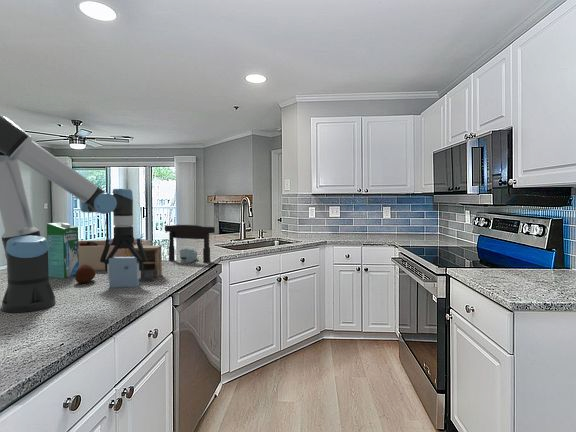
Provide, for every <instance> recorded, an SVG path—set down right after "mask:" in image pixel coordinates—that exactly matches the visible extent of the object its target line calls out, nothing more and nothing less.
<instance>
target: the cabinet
mask: <svg viewBox="0 0 576 432" xmlns="http://www.w3.org/2000/svg"><path fill="white" fill-rule="evenodd" d="M134 248H135V250H136V251H137V252H138V254H139V255H140V257H141V258H142V256H141V254H140V251H139V249H138V246H134ZM143 248H144V251H145V254H146V256H147V259H148V260H147V261H145V262H143V270H142V271H141V278H140V279H139V282H155V281H156V279H159V278H160V277H161V276H162V275H163V271H162V269H163V268H162V266H163V264H162V261H163V260H162V253H163V252H162V245H149V246H143ZM130 257H135V256H134V255H133V254H132V252H131V251H130Z"/></svg>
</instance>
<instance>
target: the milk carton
mask: <svg viewBox="0 0 576 432" xmlns="http://www.w3.org/2000/svg"><path fill="white" fill-rule="evenodd" d="M46 239H47V241H48V245H49V249H48V266H49V278H51V277H53V279H57V278H58V279H67V277H68V278H70V277H75V273H76V271H77V270H78V268H79V253H78V241H79V227H78V226H75V225H72V223H68V222H63V221H61V222H60V221H59V222H49V223H46Z"/></svg>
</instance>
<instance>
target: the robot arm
mask: <svg viewBox="0 0 576 432" xmlns="http://www.w3.org/2000/svg"><path fill="white" fill-rule="evenodd" d="M19 162H21V163H23V164H25V165H26V166H27V167H29V168H31V169H32V170H34V171H35V172H37V173H38V174H40V175H41V176H43V177H44V178H46V179H47V180H49V181H50V182H52V183H53V184H55V185H56V186H58V187H60V188H61V189H63V190H64V191H65V192H67V193H69V194H71V196H74V197H75V198H76V199H78V200H79V208H80V211H81V212H82V213H89V214H91V213H97V214H98V213H99V214H102V215H105V214H110V213H112V214H113V215H112V217H113V221H112V222H113V226H114V227H113V238H107V239H105V242H106V245H105V248H104V250H103V253H102V256H101V259H100V262H103V263H105V270H104V271H105V272H107V280H109V258H112V257H113V256H114V254H115V253H116V251H117V250H118V249H122V248H124V249H127V248H128V249H129V250H130V251H131V252H132V254H133V255H134V256H135V258H137V261H138V262H139V263H137V279H140V278H141V271H142V270H143V262H145V261H147V260H148V259H147V256H146V254H145V251H144V248H143V246H142V240H143V239H142V238H141V237H138V238H134V226H133V225H134V214H133V213H134V209H133V207H134V198H133V190H132V189H130V188H113V189H112V192H111V193H110V192H106V191H105V190H104V189H102V188H100V187H98V185H96V184H95V183H93V182H92V181H91V180H89V179H88V178H86V177H85V176H84V175H82V174H81V173H79V172H78V171H76V170H75V169H74V168H72V167H70V166H69V165H68V164H67V163H65V162H64V161H62V160H60V159H59V158H58V157H56V156H55V155H53V154H52V153H51V152H49V151H47V150H46V149H45V148H43V147H42V146H41V145H39V144H37V143H36V142H35V141H33V139H32V136H31V135H30V134H29V133H28V132H26V131H25V130H23V129H22V128H21V127H19V125H17V124H16V123H15V122H13V121H12V120H11V119H9V118H8V117H6V116H3V115H1V114H0V215H1V220H2V224H3V228H4V232H3V233H2V235H1V241H2V244H3V249H4V256H5V259H6V274H7V275H6V276H7V277H6V278H7V288H6V289H5V293H4V296H3V298H2V302H1V311H2V312H6V313H27V312H34V311H39V310H44V309H48V308H50V307H52V306H55V305H56V295H55V294H54V290H53V288H52V286H51V283H50V277H49V266H48V249H49V245H48V241H47V237H44V236H42V235H41V232H40V229H39V228H37V227H36V226H34V224H33V220H32V215H31V212H30V207H29V203H28V199H27V195H26V190H25V186H24V182H23V177H22V174H21V170H20V165H19ZM134 241H135V243H136V244H137V246H138V249H139V251H140V254H141V256H142V258H141V257H140V255H139V254H138V252H137V251H136V250H135V248H134V246H133V245H132V244H133V242H134ZM112 242H114V244H115V246H114V248H113V250H112V251H111V253H110V254H109V256H108V257H107V259H106V256H107V253H108V251H109V248H110V245H111V243H112Z"/></svg>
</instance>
